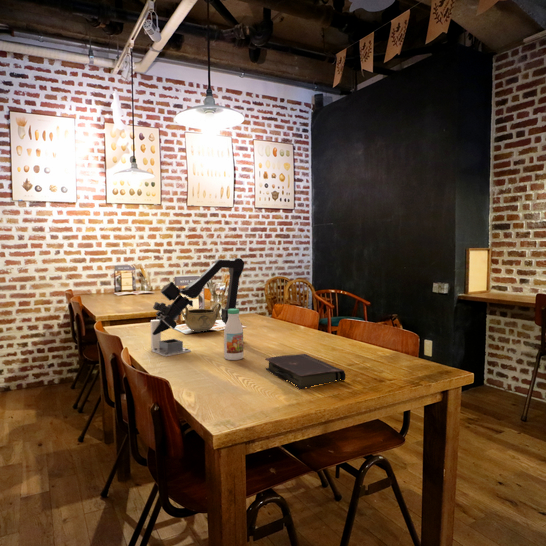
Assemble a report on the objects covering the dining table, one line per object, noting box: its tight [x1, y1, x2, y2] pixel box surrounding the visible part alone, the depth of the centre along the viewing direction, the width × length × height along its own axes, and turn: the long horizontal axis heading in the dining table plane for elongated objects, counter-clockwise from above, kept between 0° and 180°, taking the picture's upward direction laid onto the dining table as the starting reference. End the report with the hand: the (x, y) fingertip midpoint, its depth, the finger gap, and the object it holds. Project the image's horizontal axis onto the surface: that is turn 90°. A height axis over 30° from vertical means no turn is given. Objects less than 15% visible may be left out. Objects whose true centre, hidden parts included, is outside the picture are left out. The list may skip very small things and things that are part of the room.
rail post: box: [150, 319, 162, 350], centre depth 190 cm, size 4×4×12 cm
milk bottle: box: [223, 308, 244, 361], centre depth 173 cm, size 8×8×20 cm
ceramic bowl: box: [181, 302, 222, 333], centre depth 228 cm, size 22×17×15 cm
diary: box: [264, 353, 346, 390], centre depth 151 cm, size 19×25×5 cm
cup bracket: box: [151, 338, 191, 357], centre depth 184 cm, size 12×12×4 cm
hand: (152, 333), depth 190 cm, fingers closed on rail post, 4 cm apart
